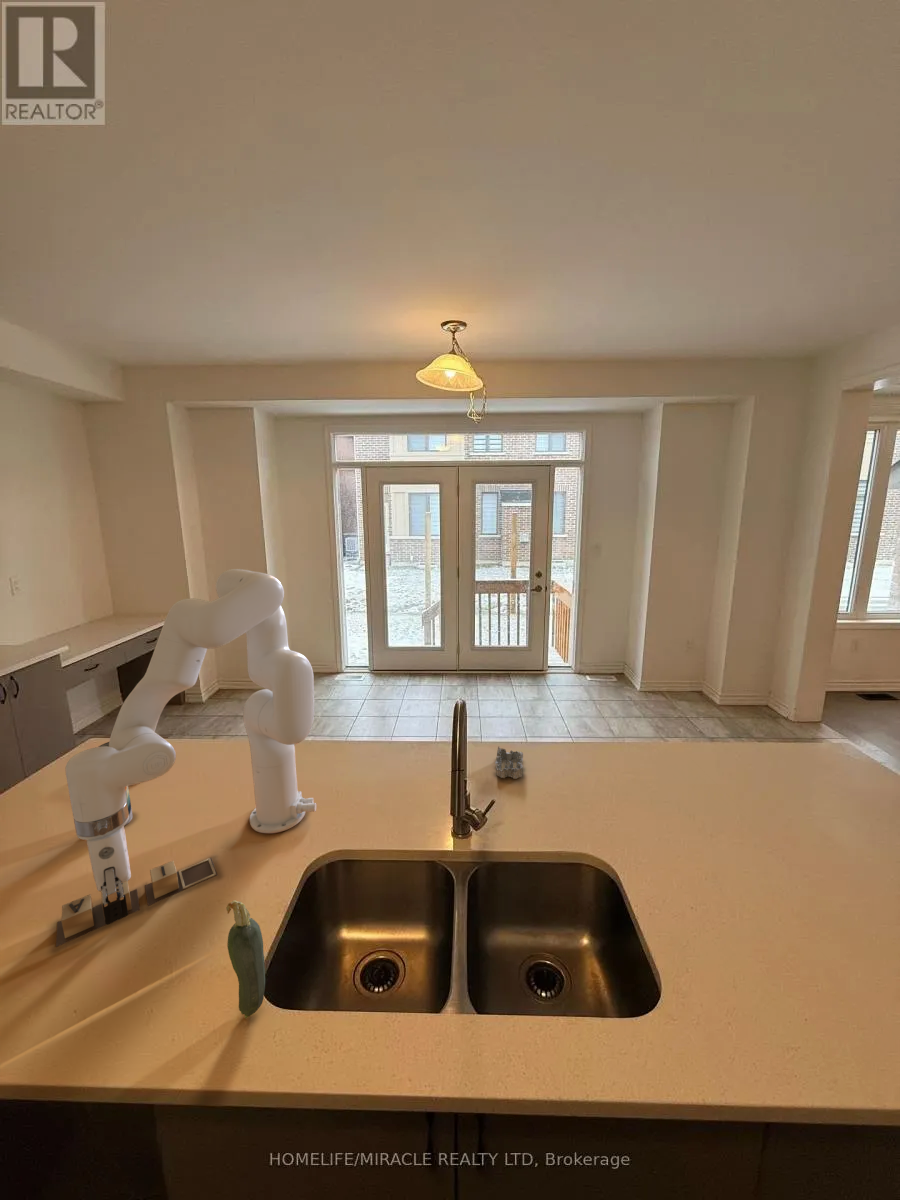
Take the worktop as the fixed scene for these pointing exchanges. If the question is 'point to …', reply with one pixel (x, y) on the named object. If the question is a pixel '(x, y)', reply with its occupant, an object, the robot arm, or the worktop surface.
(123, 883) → the tile
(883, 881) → the worktop surface
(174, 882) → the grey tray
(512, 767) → the egg carton
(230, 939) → the vegetable
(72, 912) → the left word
